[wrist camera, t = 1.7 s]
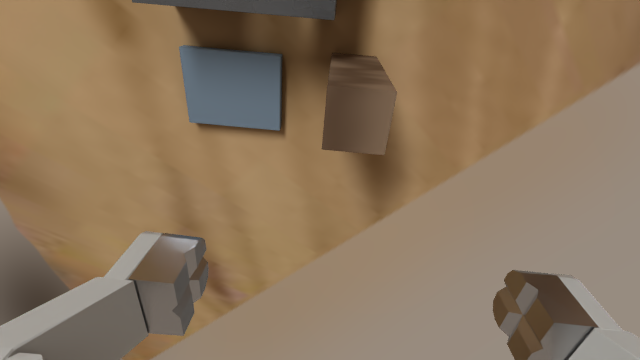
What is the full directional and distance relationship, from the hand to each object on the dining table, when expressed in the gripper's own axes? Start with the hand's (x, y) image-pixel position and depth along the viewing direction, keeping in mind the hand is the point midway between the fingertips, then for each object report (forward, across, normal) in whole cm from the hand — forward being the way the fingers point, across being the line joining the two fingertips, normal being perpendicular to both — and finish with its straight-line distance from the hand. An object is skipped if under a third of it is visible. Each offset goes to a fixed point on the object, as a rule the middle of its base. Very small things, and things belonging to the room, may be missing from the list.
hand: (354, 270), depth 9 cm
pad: (+24, +10, +2) cm, 26 cm away
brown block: (+24, -1, 0) cm, 24 cm away
